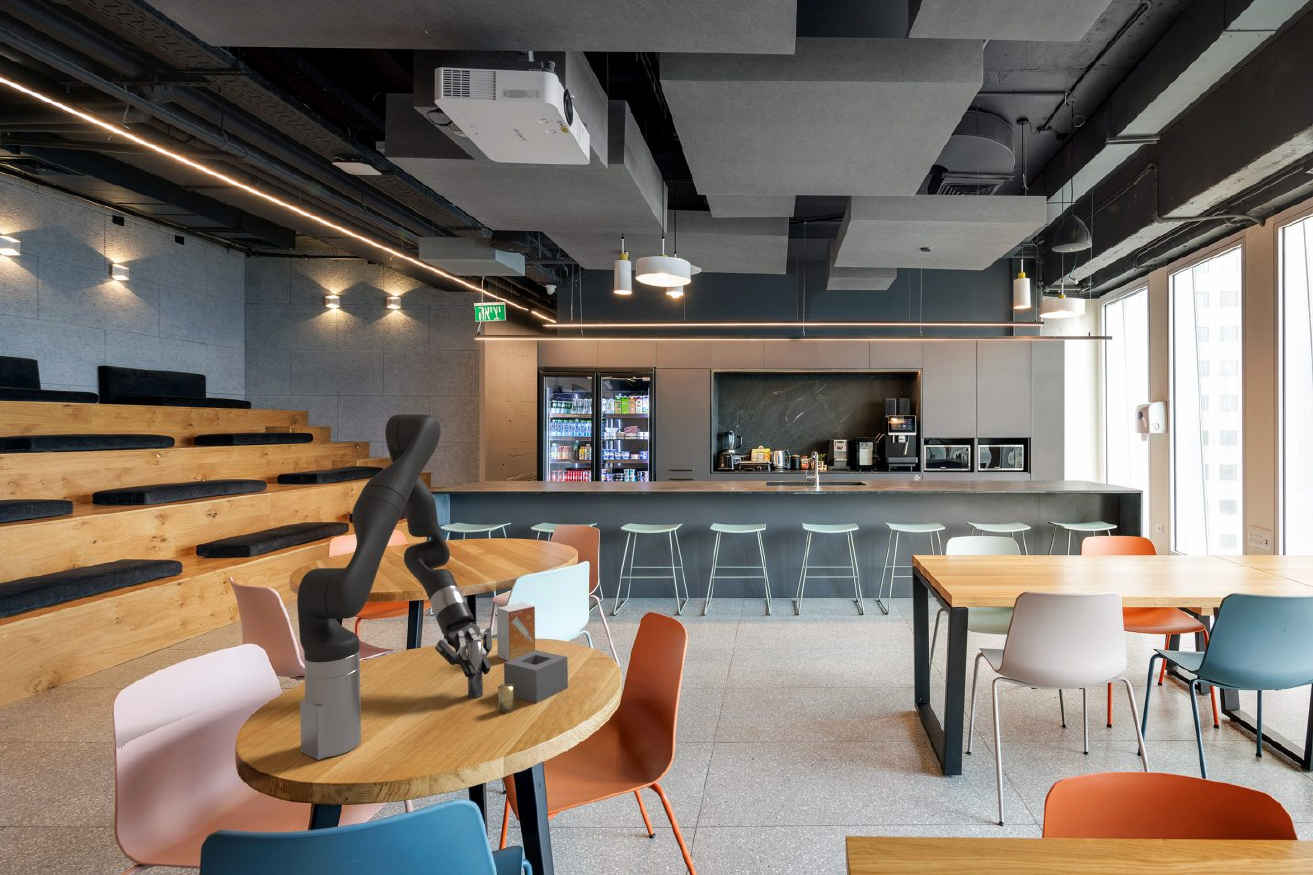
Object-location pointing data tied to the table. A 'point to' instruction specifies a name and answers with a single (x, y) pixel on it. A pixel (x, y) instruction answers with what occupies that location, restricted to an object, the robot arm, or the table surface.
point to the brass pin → (506, 698)
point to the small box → (515, 630)
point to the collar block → (536, 675)
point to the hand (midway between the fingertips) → (479, 674)
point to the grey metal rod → (475, 668)
